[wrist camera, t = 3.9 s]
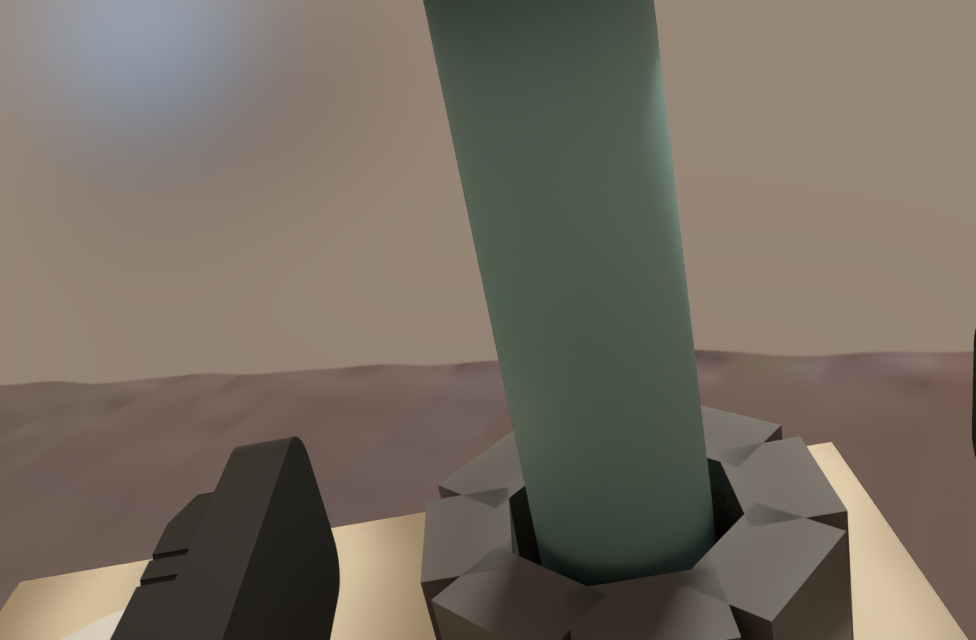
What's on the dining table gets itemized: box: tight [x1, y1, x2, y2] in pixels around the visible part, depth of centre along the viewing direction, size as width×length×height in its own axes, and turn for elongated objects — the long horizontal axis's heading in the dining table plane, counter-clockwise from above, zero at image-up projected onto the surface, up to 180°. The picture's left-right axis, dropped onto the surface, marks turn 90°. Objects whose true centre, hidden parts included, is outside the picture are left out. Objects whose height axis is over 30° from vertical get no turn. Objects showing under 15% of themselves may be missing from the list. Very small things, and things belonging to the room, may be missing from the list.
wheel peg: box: [423, 0, 717, 587], centre depth 19 cm, size 7×7×17 cm
